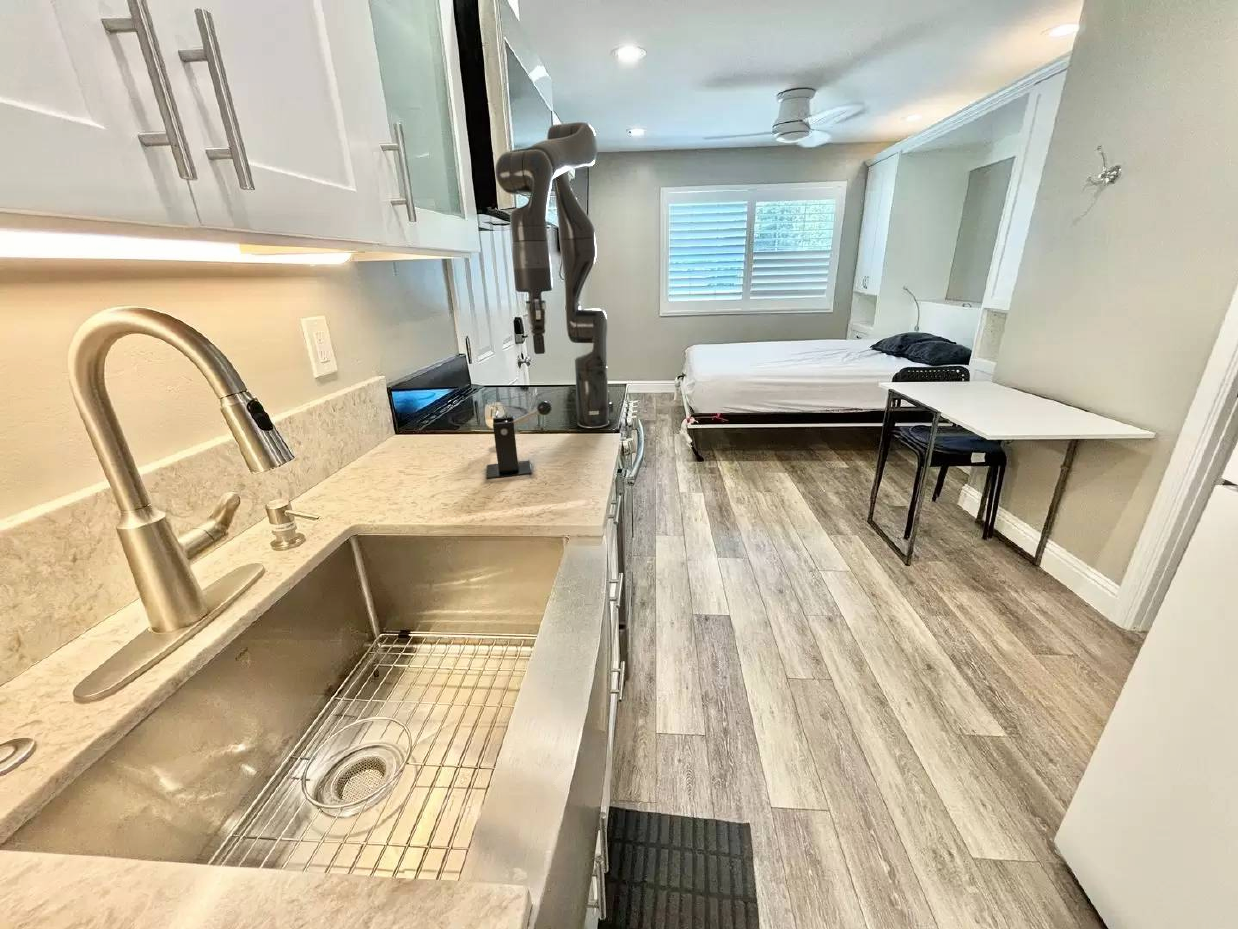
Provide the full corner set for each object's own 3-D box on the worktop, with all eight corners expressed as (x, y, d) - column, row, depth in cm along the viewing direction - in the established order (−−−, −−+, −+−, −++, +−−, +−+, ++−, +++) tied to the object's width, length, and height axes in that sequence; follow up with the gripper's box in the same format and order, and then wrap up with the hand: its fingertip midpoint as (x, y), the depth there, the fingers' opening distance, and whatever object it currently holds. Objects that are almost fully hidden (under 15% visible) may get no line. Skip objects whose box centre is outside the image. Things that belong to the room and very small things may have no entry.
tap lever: (553, 409, 112) (546, 397, 111) (554, 413, 109) (548, 400, 108) (501, 434, 111) (494, 422, 110) (501, 439, 109) (494, 426, 107)
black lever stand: (530, 464, 118) (525, 413, 113) (532, 477, 111) (526, 423, 106) (487, 469, 116) (480, 417, 111) (486, 482, 109) (479, 427, 104)
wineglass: (505, 453, 126) (500, 408, 121) (484, 452, 127) (478, 407, 123) (514, 445, 131) (509, 402, 127) (494, 444, 132) (488, 401, 128)
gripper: (554, 265, 94) (560, 357, 100) (547, 266, 106) (553, 347, 112) (514, 266, 92) (523, 359, 99) (512, 267, 104) (520, 349, 111)
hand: (539, 353), depth 105 cm, fingers closed
